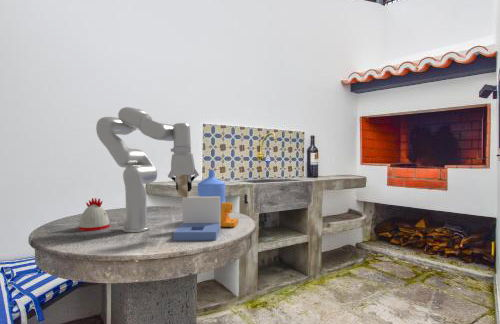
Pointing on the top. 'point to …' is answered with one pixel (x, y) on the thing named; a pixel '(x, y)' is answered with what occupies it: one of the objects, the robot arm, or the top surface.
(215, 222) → the blue base grey panel
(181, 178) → the tan wooden pillar
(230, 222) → the bracket
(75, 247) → the top surface
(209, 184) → the water jug
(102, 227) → the cream red beanie hat
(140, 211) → the robot arm
